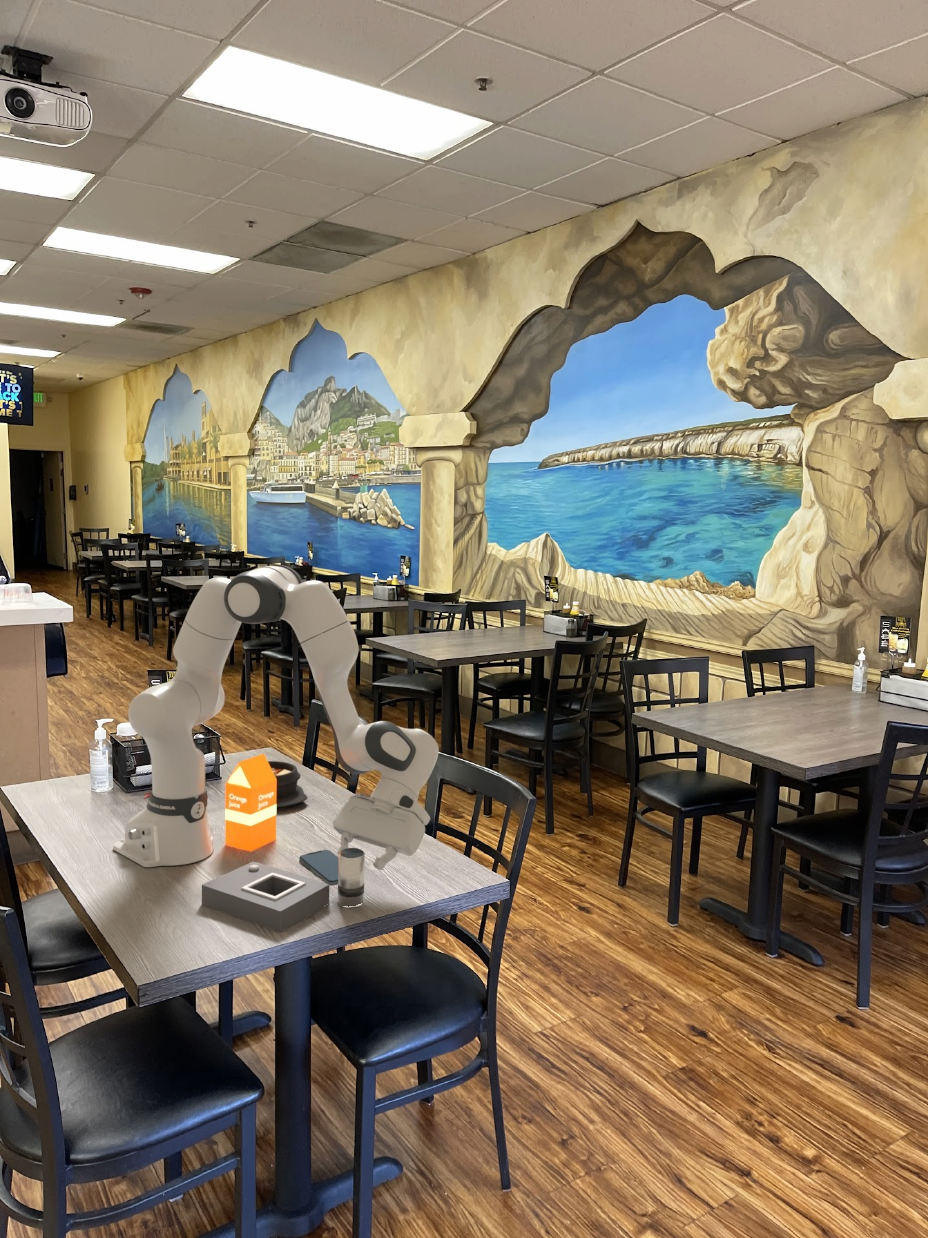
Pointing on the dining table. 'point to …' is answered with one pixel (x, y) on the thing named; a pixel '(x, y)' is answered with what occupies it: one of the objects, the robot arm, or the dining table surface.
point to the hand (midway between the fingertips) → (359, 862)
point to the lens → (351, 877)
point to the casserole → (287, 784)
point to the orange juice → (251, 805)
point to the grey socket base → (265, 895)
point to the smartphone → (322, 865)
